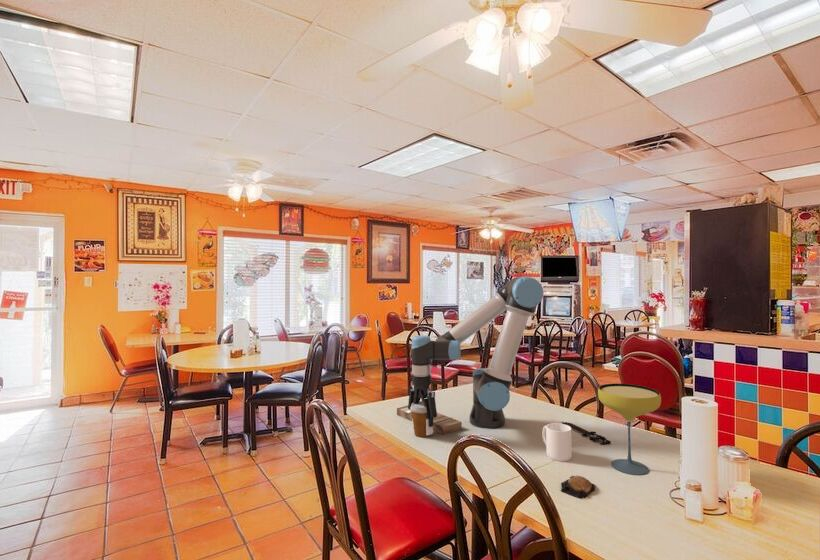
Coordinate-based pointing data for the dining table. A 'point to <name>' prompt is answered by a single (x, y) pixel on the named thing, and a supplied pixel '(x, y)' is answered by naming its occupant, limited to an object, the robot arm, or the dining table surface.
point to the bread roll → (577, 487)
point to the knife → (588, 434)
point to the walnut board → (435, 421)
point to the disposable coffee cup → (419, 418)
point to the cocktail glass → (629, 414)
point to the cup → (558, 441)
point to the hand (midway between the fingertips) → (422, 431)
